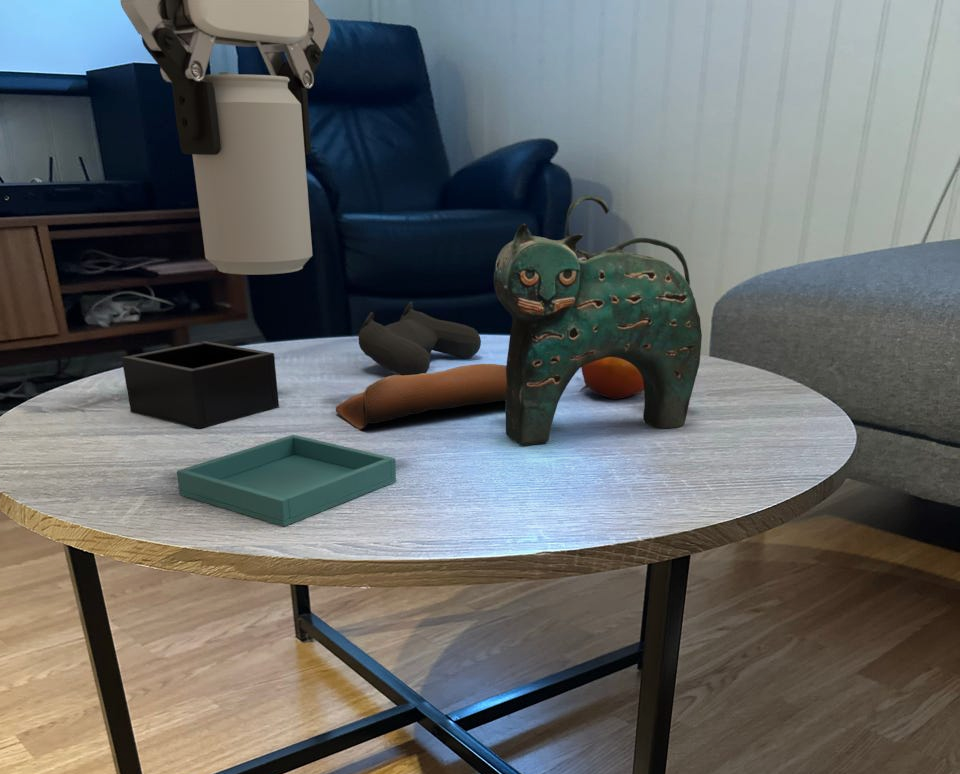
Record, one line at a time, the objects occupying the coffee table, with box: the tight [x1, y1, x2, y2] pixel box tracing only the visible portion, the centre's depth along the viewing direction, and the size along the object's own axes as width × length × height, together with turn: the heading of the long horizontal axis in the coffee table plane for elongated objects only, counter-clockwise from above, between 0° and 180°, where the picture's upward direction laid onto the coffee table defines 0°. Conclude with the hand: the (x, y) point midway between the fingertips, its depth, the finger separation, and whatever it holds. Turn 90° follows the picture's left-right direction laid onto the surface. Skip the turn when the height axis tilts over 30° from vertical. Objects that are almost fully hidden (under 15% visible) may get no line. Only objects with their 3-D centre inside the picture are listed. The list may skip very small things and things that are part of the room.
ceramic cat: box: [493, 194, 703, 447], centre depth 82 cm, size 20×6×20 cm, turn 112°
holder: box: [121, 340, 280, 430], centre depth 92 cm, size 10×10×5 cm
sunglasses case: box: [335, 363, 507, 431], centre depth 92 cm, size 18×7×7 cm
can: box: [191, 71, 313, 276], centre depth 64 cm, size 8×8×12 cm
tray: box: [176, 434, 397, 527], centre depth 72 cm, size 12×11×2 cm
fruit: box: [579, 357, 644, 400], centre depth 99 cm, size 8×8×8 cm
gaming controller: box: [358, 301, 482, 375], centre depth 111 cm, size 17×6×10 cm
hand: (248, 152), depth 63 cm, fingers closed on can, 7 cm apart
